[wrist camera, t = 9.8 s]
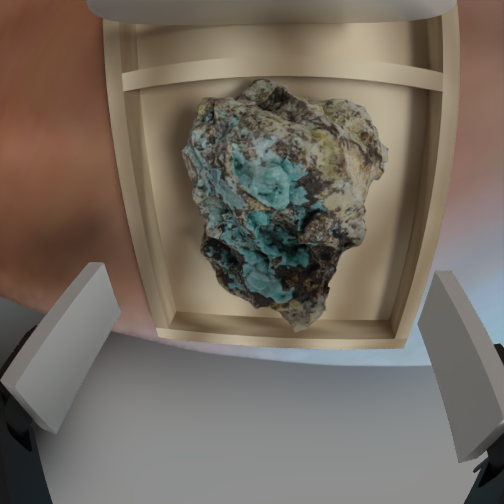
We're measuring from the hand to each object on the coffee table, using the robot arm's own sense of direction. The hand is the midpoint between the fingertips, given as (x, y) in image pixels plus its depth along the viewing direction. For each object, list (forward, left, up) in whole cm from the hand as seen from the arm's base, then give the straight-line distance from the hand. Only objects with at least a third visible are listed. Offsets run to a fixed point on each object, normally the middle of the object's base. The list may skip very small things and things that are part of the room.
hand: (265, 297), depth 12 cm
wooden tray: (0, +3, -9) cm, 9 cm away
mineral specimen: (0, +1, -8) cm, 8 cm away
